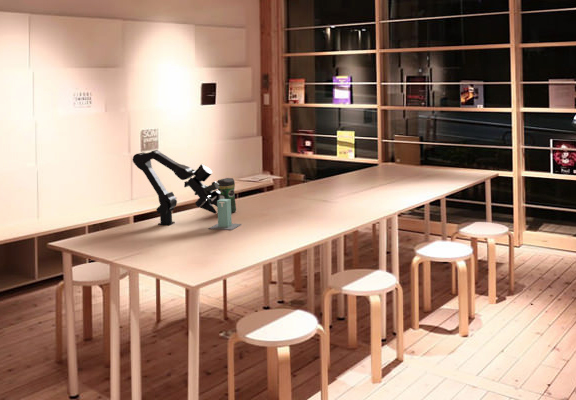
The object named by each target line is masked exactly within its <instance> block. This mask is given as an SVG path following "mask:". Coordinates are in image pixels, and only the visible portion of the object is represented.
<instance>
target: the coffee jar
mask: <svg viewBox="0 0 576 400" xmlns="http://www.w3.org/2000/svg"><path fill="white" fill-rule="evenodd" d="M216 182H218V183H219V189H217V190H219V191H220V192H221V196H220V199H231V214H232V213H235V212H236V211H237V204H236V196H235V189H236V188H235V187H236V182H235V179H234V178H233V177H225V178H221V179H218V180H217V181H216Z"/></svg>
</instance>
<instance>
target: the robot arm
mask: <svg viewBox="0 0 576 400" xmlns="http://www.w3.org/2000/svg"><path fill="white" fill-rule="evenodd" d="M151 160H155V161H157V162H158V163H159V164H160V165H162V166H164V167H166V168H167V169H169V170H170V171H172V172H173V174H174V175H175V176H177V178H179V179H180V180H182V181H184V180H185V181H184V188H187V187H189V188H190V189H191V190H192V191H193V192H194V195H195V196H197V197H198V199H197V200H196V201H195V206H196V207H197V208H198V209H203V210H206V211H208V212H210V213H212V214H218V211H217V210H216V209H215V207H217V201H218V200H220V196H221V192H220V191H219V190H218V189H219V183H218V182H217V181H215V180H214V181H212V182H211V184H209V185H207V184H204V183H203V182H206V181H207V179H208V178H210V176H211V175H212V174H213V171H212V169H211V168H210V167H208V166H207V165H205V164H203V163H201V164H200V165H199V167H198V168H197V169H193V168H192V167H190V166H187V165H185V164H181V163H178V162H176V161H175V160H173V159H172V158H170V157H168V156H167V155H166V154H164V153H162V152H161V151H160V150H158V149H155V150H151V151H149V152H139V153H136V154H134V155H133V157H132V162H133V164H134V165H135V166H136V167H137V168H138V169H139V170H140V171H142V172H143V174H144V175H145V177H146V178H147V180H148V182H149V183H150V184H151V186H152V188H153V189H154V192H155V193H156V194H157V196H158V203H159V206H158V207H156V212H157V214H159V217H160V219H159V220H160V221H159V222H158V223H157V225H159V226H160V225H161V226H170V225H173V224H175V221H173V213H172V212H173V211H174V210H175V208H176V206H177V204H178V200H177V197H176V196H175V195H174V192H173V191H170V192H169V191H168V190H167V189H166V187H165V186H164V184H163V183H162V181H161V179H160V178H159V176H158V175H157V173H156V171H155V170H154V169H153V166H152V161H151ZM214 206H215V207H214Z"/></svg>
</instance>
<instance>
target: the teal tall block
mask: <svg viewBox="0 0 576 400" xmlns="http://www.w3.org/2000/svg"><path fill="white" fill-rule="evenodd" d="M216 208H217V224H218V227H229V226H231V225H232V224H233V223H232V219H233V218H232V213H231V199H220V200H218V201H217V206H216Z"/></svg>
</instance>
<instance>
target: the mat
mask: <svg viewBox="0 0 576 400" xmlns="http://www.w3.org/2000/svg"><path fill="white" fill-rule="evenodd" d="M241 225H242V223H232V225H231V226H229V227H218V223H216V224H214V225H212V226H210V227H208V230H219V231H221V230H222V231H233V230H235V229H237V228H238V227H240V226H241Z"/></svg>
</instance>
